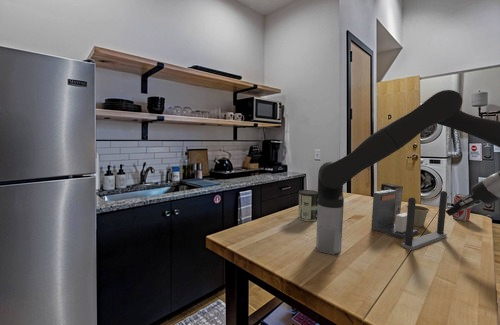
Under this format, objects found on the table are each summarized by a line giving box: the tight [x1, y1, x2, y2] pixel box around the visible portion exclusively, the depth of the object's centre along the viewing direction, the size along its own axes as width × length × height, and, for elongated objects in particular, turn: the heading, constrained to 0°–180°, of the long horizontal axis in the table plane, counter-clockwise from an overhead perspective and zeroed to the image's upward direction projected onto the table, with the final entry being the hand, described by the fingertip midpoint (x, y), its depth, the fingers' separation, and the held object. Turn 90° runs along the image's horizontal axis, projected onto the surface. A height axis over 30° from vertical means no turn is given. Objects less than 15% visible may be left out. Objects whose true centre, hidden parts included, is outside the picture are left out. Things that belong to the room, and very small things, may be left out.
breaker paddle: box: [394, 212, 407, 233], centre depth 113 cm, size 3×8×7 cm, turn 120°
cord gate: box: [400, 190, 448, 251], centre depth 105 cm, size 4×27×20 cm, turn 120°
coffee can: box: [298, 189, 318, 222], centre depth 133 cm, size 10×10×14 cm
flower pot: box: [406, 204, 430, 228], centre depth 126 cm, size 9×9×9 cm
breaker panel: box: [371, 190, 419, 240], centre depth 116 cm, size 14×13×18 cm
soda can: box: [451, 193, 472, 222], centre depth 135 cm, size 7×7×13 cm
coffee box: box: [380, 183, 403, 216], centre depth 145 cm, size 9×6×16 cm
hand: (448, 213), depth 98 cm, fingers closed
